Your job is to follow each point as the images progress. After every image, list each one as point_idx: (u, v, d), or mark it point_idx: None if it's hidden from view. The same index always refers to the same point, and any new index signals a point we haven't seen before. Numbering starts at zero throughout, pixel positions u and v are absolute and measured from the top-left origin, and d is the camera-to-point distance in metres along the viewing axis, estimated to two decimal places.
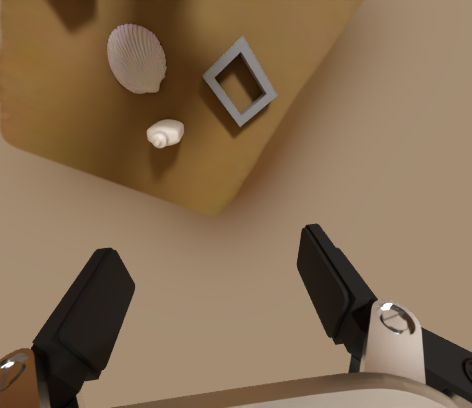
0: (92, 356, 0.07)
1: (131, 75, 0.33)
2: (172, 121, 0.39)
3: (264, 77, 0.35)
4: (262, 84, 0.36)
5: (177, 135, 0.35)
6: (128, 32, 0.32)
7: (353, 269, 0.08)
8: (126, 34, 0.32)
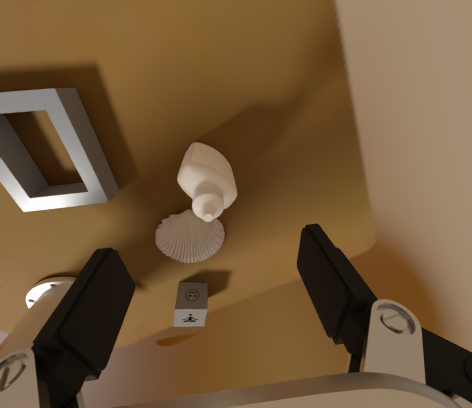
0: (92, 356, 0.07)
1: (200, 244, 0.26)
2: None
3: None
4: None
5: (180, 176, 0.17)
6: (179, 260, 0.30)
7: (353, 269, 0.08)
8: (181, 261, 0.29)
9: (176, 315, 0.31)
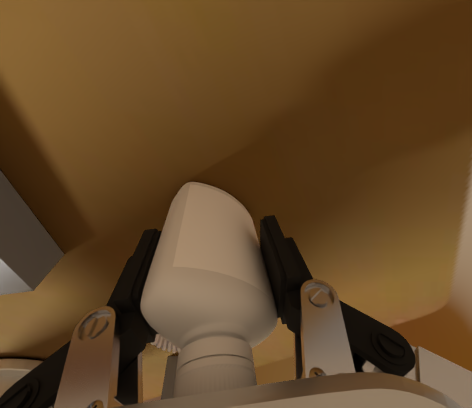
0: None
1: None
2: None
3: None
4: None
5: (146, 307, 0.07)
6: None
7: (299, 255, 0.09)
8: None
9: None
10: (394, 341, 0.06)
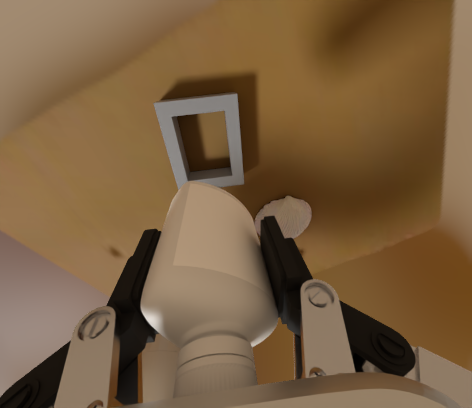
0: None
1: (299, 224, 0.32)
2: None
3: (167, 140, 0.23)
4: (173, 133, 0.23)
5: (146, 306, 0.07)
6: None
7: (299, 255, 0.09)
8: None
9: None
10: (394, 341, 0.06)
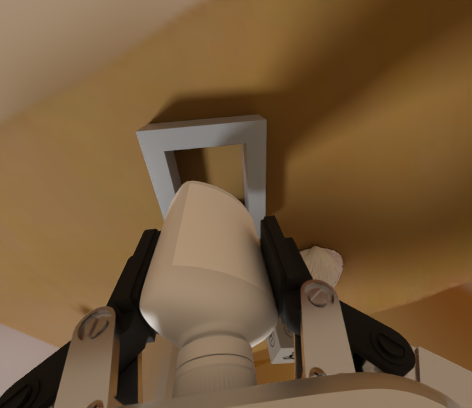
0: None
1: (331, 285, 0.24)
2: None
3: (157, 183, 0.15)
4: (166, 174, 0.15)
5: (145, 306, 0.06)
6: None
7: (299, 255, 0.09)
8: None
9: (279, 353, 0.29)
10: (394, 341, 0.06)
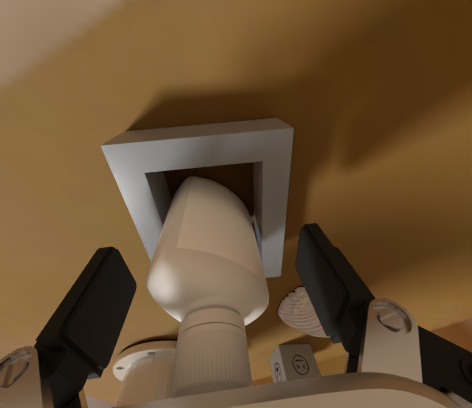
0: (94, 354, 0.07)
1: None
2: None
3: (137, 214, 0.11)
4: (150, 203, 0.11)
5: (152, 283, 0.07)
6: None
7: (351, 268, 0.08)
8: None
9: None
10: None
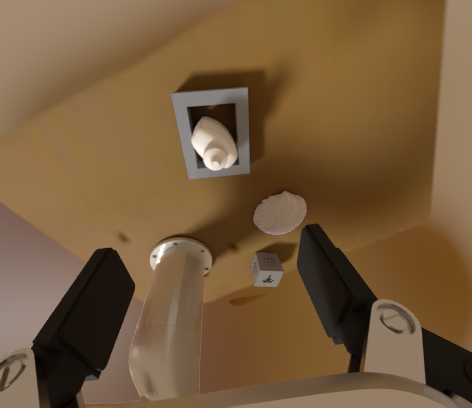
0: (92, 356, 0.07)
1: (295, 217, 0.34)
2: None
3: (181, 128, 0.25)
4: (187, 122, 0.25)
5: (194, 138, 0.21)
6: (270, 232, 0.38)
7: (353, 269, 0.08)
8: (272, 232, 0.38)
9: (259, 276, 0.40)
10: None
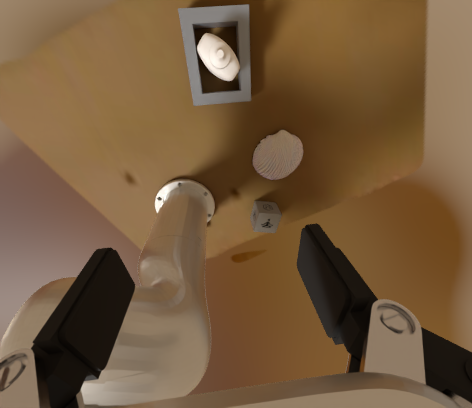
0: (92, 356, 0.07)
1: (292, 154, 0.36)
2: None
3: (187, 48, 0.27)
4: (192, 41, 0.27)
5: (200, 43, 0.23)
6: (268, 174, 0.40)
7: (353, 269, 0.08)
8: (271, 174, 0.40)
9: (258, 219, 0.41)
10: None
